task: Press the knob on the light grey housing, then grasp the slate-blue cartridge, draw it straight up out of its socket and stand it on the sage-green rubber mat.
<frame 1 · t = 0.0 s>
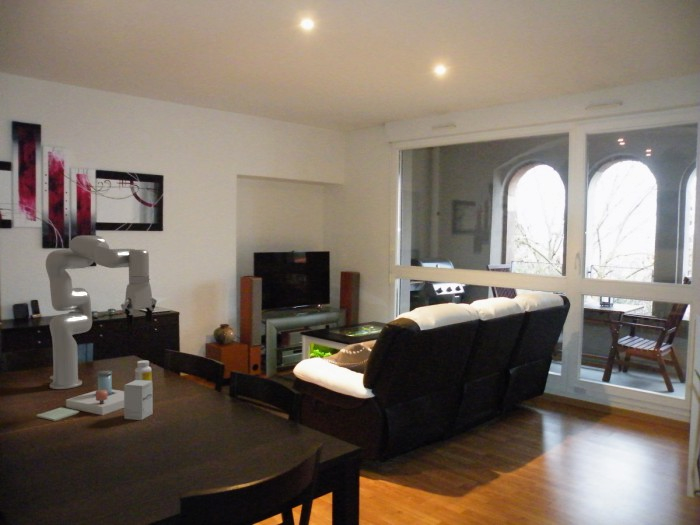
hand: (139, 323, 219), 31 cm above the table, fingers open, 9 cm apart
housing: (104, 404, 214), on the table
mat: (58, 414, 202), on the table
knob: (101, 398, 206), point 5 cm above the table, slide at 0.0 cm
supplement box: (138, 417, 200), on the table
cartridge: (105, 401, 218), resting in housing
supplement bottle: (143, 391, 232), on the table
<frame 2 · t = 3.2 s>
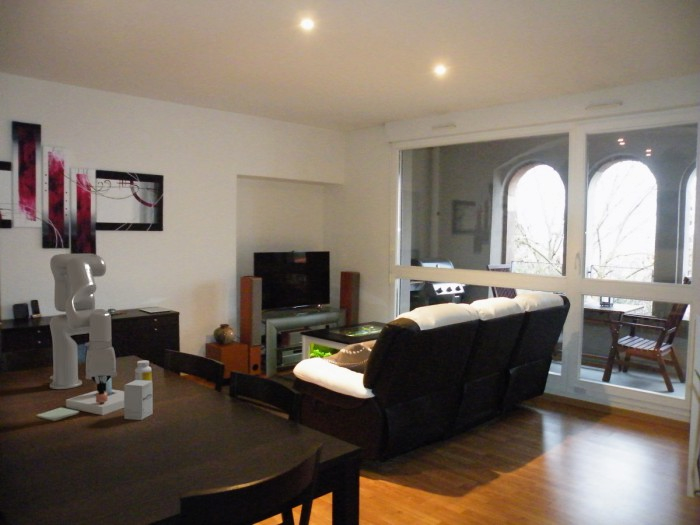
hand: (101, 393, 205), 7 cm above the table, fingers closed
knob: (101, 400, 206), point 4 cm above the table, slide at 0.7 cm, touching gripper
everything else where it was.
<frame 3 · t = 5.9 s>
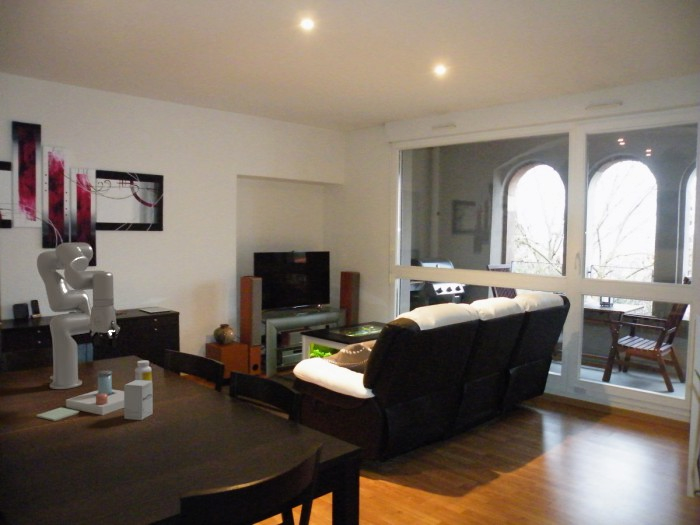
hand: (104, 346, 217), 22 cm above the table, fingers open, 8 cm apart
knob: (101, 402, 206), point 3 cm above the table, slide at 1.3 cm
everything else where it was.
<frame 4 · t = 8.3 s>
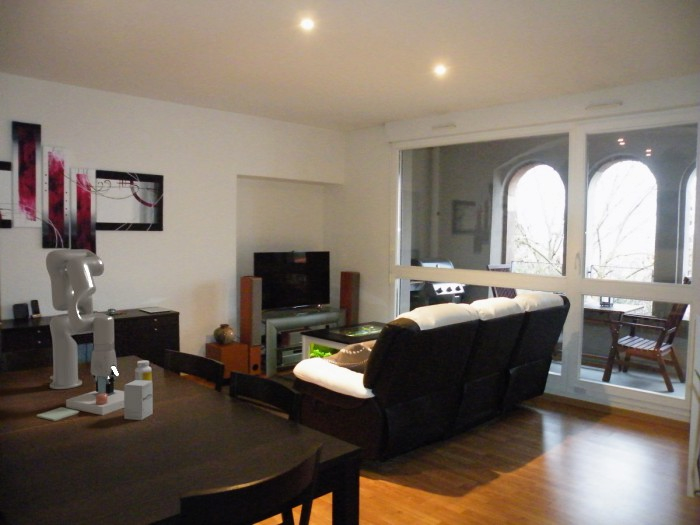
hand: (104, 391, 218), 4 cm above the table, fingers closed on cartridge, 5 cm apart
cartridge: (105, 401, 218), resting in housing, touching gripper
everything else where it was.
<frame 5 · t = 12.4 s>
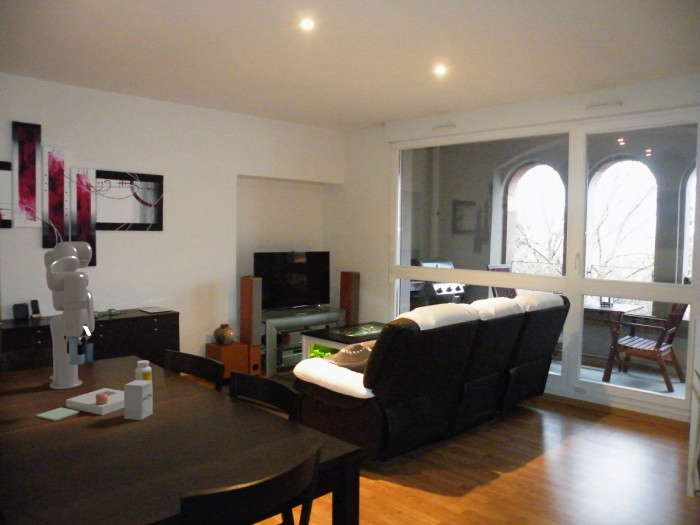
hand: (76, 353, 207), 22 cm above the table, fingers closed on cartridge, 5 cm apart
cartridge: (76, 363, 207), point 18 cm above the table, touching gripper
everything else where it was.
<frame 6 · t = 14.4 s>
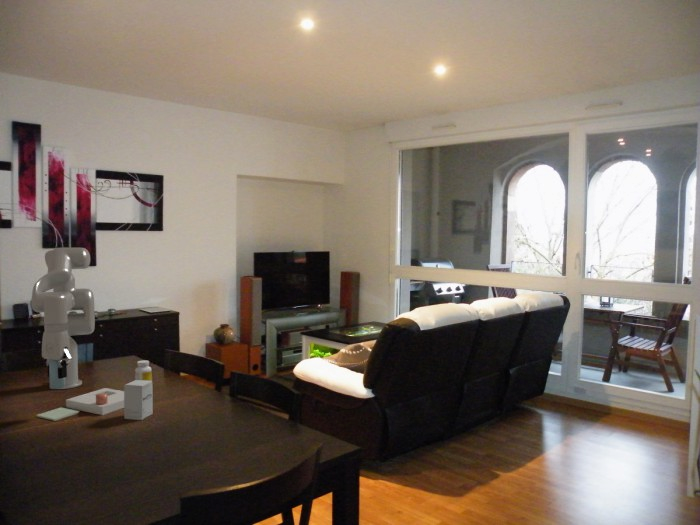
hand: (57, 376, 201), 14 cm above the table, fingers closed on cartridge, 5 cm apart
cartridge: (57, 387, 201), point 10 cm above the table, touching gripper
everything else where it was.
when the fingers open (6 cm above the table, at t = 16.3 s): cartridge drops 1 cm, resting on mat.
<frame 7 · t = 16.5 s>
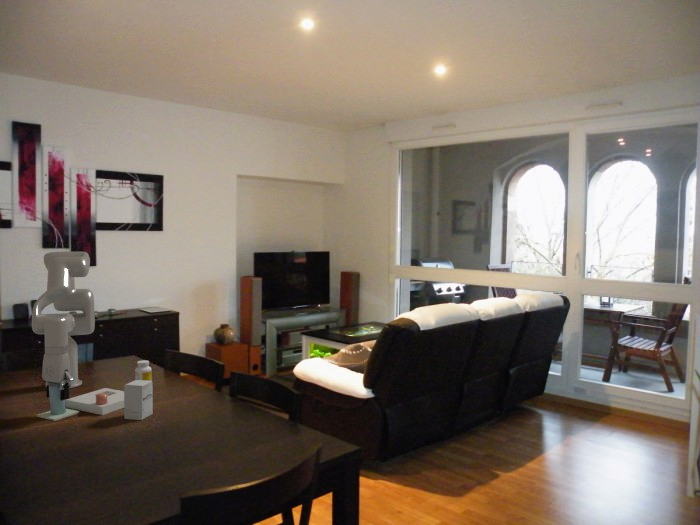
hand: (57, 397, 201), 6 cm above the table, fingers open, 7 cm apart
cartridge: (58, 412, 202), point 1 cm above the table, touching mat
everything else where it was.
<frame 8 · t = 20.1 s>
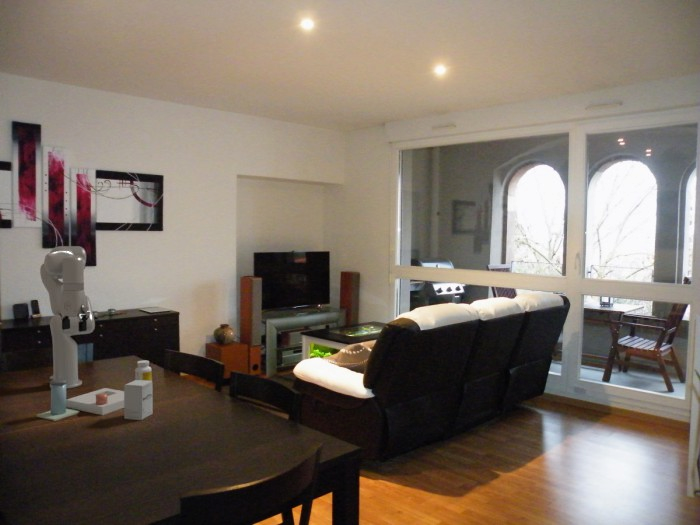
hand: (74, 330, 218), 28 cm above the table, fingers open, 9 cm apart
nothing on the table moved.
at the end: knob slide at 1.3 cm; cartridge inside the target area (0.1 cm from its centre), point 0.7 cm above the table; cartridge tilted 2° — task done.
